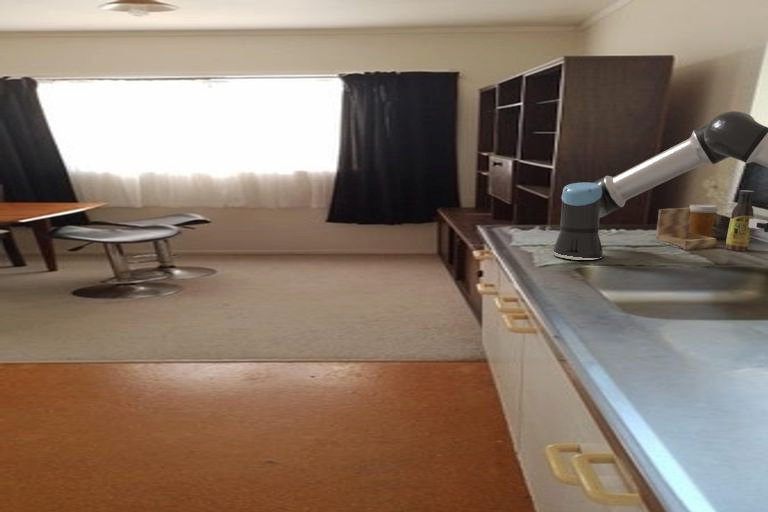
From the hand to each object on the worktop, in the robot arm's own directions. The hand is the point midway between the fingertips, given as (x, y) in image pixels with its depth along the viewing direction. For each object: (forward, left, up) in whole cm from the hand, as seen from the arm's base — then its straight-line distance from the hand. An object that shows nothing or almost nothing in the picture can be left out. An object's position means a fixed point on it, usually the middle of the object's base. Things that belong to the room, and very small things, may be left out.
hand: (767, 221), depth 154 cm
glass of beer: (+7, +31, -11) cm, 33 cm away
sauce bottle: (0, +9, -11) cm, 14 cm away
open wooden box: (-9, +21, -11) cm, 25 cm away
